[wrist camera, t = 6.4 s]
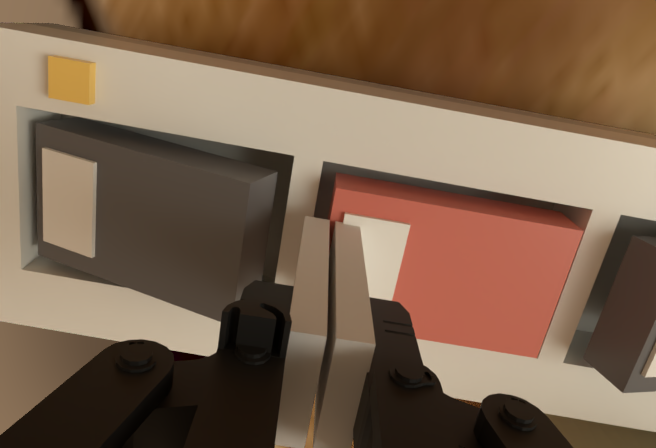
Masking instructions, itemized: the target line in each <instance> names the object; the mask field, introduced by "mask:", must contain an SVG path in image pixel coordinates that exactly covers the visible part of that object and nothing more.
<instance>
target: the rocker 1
mask: <svg viewBox="0 0 656 448" xmlns="http://www.w3.org/2000/svg"><path fill="white" fill-rule="evenodd" d="M36 173H37V230H38V255H40V256H43V257H45V258H48V259H51V260H54V261H56V262H59V263H62V264H64V265H67V266H70V267H73V268H75V269H78V270H81V271H83V272H86V273H89V274H92V275H94V276H97V277H100V278H102V279H105V280H108V281H111V282H113V283H116V284H119V285H121V286H124V287H127V288H130V289H132V290H135V291H138V292H140V293H143V294H146V295H149V296H151V297H154V298H157V299H159V300H162V301H165V302H167V303H170V304H173V305H176V306H178V307H181V308H184V309H186V310H189V311H192V312H195V313H197V314H200V315H203V316H205V317H208V318H211V319H214V320H216V321H219V322H221V316H222V311H223V309H224V308H225V307H226V306H227V305H228V304H230V303H233V302H235V301H238V300H240V298H241V295H242V292H243V290H244V288H245V287H246V286H248V285H249V284H250V283H252V282H253V281H255V280H258V281H262V277H263V270H264V263H265V256H266V249H267V242H268V236H269V229H270V222H271V215H272V208H273V202H274V195H275V188H276V181H277V174H278V171H274V170H271V169H267V168H263V167H260V166H256V165H252V164H249V163H245V162H241V161H238V160H234V159H230V158H227V157H223V156H219V155H216V154H212V153H208V152H205V151H201V150H198V149H194V148H190V147H187V146H183V145H179V144H176V143H172V142H168V141H165V140H161V139H157V138H154V137H150V136H146V135H143V134H139V133H135V132H132V131H128V130H124V129H121V128H117V127H113V126H110V125H106V124H103V123H99V122H95V121H92V120H88V119H84V118H81V117H76V118H68V119H60V120H52V121H43V122H36Z"/></svg>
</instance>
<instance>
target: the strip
mask: <svg viewBox="0 0 656 448" xmlns="http://www.w3.org/2000/svg"><path fill="white" fill-rule="evenodd" d="M76 117H81V118H84V119H88V120H92V121H95V122H99V123H103V124H106V125H110V126H113V127H117V128H121V129H124V130H128V131H132V132H135V133H139V134H143V135H146V136H150V137H154V138H157V139H161V140H165V141H168V142H172V143H176V144H179V145H183V146H187V147H190V148H194V149H198V150H201V151H205V152H208V153H212V154H216V155H219V156H223V157H227V158H230V159H234V160H238V161H241V162H245V163H249V164H252V165H256V166H260V167H263V168H267V169H271V170H274V171H278V174H277V181H276V188H275V195H274V202H273V208H272V215H271V222H270V229H269V236H268V242H267V249H266V256H265V263H264V270H263V277H262V281H265V282H271V283H277V284H283V285H289V286H293V284H294V278H295V272H296V267H297V261H298V255H299V249H300V243H301V237H302V232H303V226H304V220H305V216H309V217H315V218H321V219H328V214H329V209H330V203H331V198H332V193H333V187H334V182H335V177H336V172H337V173H343V174H349V175H355V176H360V177H366V178H372V179H377V180H383V181H389V182H394V183H400V184H406V185H411V186H417V187H423V188H429V189H434V190H440V191H446V192H451V193H457V194H463V195H468V196H474V197H480V198H485V199H491V200H497V201H503V202H508V203H514V204H520V205H525V206H531V207H537V208H542V209H548V210H554V211H560V212H561V213H563V214H564V215H565V216H566V217H567V218H569V219H570V220H571V221H572V222H573V223H575V224H576V225H577V226H578V227H579V228H581V229H582V230H583V231H584V232H583V234H582V237H581V240H580V242H579V245H578V248H577V251H576V253H575V256H574V259H573V261H572V264H571V267H570V270H569V272H568V275H567V278H566V280H565V283H564V286H563V288H562V291H561V294H560V297H559V299H558V302H557V305H556V307H555V310H554V313H553V316H552V318H551V321H550V324H549V326H548V329H547V332H546V334H545V337H544V340H543V343H542V345H541V348H540V351H539V353H538V356H537V358H532V357H526V356H520V355H513V354H507V353H501V352H495V351H489V350H483V349H477V348H471V347H464V346H458V345H452V344H446V343H440V342H434V341H428V340H422V339H417V343H418V347H419V351H420V354H421V358H422V362H423V365H424V366H426V367H428V368H429V369H430V370H431V371H432V372H434V373H435V374H436V375H437V377H438V379H439V381H440V383H441V386H442V389H443V393H445V394H446V395H448V396H450V397H452V398H457V399H463V400H469V401H475V402H481V403H482V400H483V399H484V398H486V397H487V396H488V395H492V394H498V393H501V394H508V395H513V396H517V397H520V398H522V399H524V400H526V401H528V402H529V403H531V404H533V405H534V406H536V407H538V408H539V409H540V410H541V411H542V412H543V413H545V414H551V415H557V416H563V417H569V418H575V419H581V420H587V421H593V422H599V423H604V424H610V425H616V426H622V427H628V428H634V429H640V430H646V431H652V432H656V391H655V392H636V393H622V392H621V391H620V390H619V389H617V388H616V387H615V386H614V385H613V384H612V383H611V382H609V381H608V380H607V379H606V378H605V377H604V376H602V375H601V374H600V373H599V372H598V371H597V370H596V369H594V368H593V367H592V366H591V365H590V364H589V363H588V362H586V361H585V360H584V359H583V356H584V354H585V352H586V349H587V347H588V344H589V342H590V339H591V337H592V334H593V332H594V329H595V327H596V324H597V322H598V319H599V317H600V314H601V312H602V310H603V307H604V305H605V302H606V300H607V297H608V295H609V292H610V290H611V287H612V285H613V282H614V280H615V277H616V275H617V273H618V270H619V268H620V265H621V263H622V260H623V258H624V255H625V253H626V250H627V248H628V245H629V243H630V240H631V238H632V236H633V235H638V236H652V237H656V135H654V134H648V133H643V132H637V131H632V130H627V129H621V128H616V127H610V126H605V125H599V124H594V123H589V122H583V121H578V120H572V119H567V118H562V117H556V116H551V115H545V114H540V113H535V112H529V111H524V110H518V109H513V108H507V107H502V106H497V105H491V104H486V103H480V102H475V101H470V100H464V99H459V98H453V97H448V96H443V95H437V94H432V93H426V92H421V91H415V90H410V89H405V88H399V87H394V86H388V85H383V84H378V83H372V82H367V81H361V80H356V79H351V78H345V77H340V76H334V75H329V74H323V73H318V72H313V71H307V70H302V69H296V68H291V67H286V66H280V65H275V64H269V63H264V62H259V61H253V60H248V59H242V58H237V57H231V56H226V55H221V54H215V53H210V52H204V51H199V50H194V49H188V48H183V47H177V46H172V45H167V44H161V43H156V42H150V41H145V40H139V39H134V38H129V37H123V36H118V35H112V34H107V33H102V32H96V31H91V30H85V29H80V28H75V27H69V26H64V25H58V24H49V23H0V321H3V322H9V323H15V324H21V325H26V326H32V327H38V328H44V329H50V330H56V331H62V332H68V333H74V334H80V335H85V336H92V337H97V338H103V339H110V340H115V341H121V342H122V341H126V340H135V339H136V340H138V339H144V340H149V341H155V342H158V343H160V344H162V345H164V346H166V347H167V348H168V349H169V350H174V351H180V352H186V353H192V354H198V355H203V356H210V355H212V354H214V353H216V352H217V349H218V341H219V332H220V324H221V322H219V321H216V320H214V319H211V318H208V317H205V316H203V315H200V314H197V313H195V312H192V311H189V310H186V309H184V308H181V307H178V306H176V305H173V304H170V303H167V302H165V301H162V300H159V299H157V298H154V297H151V296H149V295H146V294H143V293H140V292H138V291H135V290H132V289H130V288H127V287H124V286H121V285H119V284H116V283H113V282H111V281H108V280H105V279H102V278H100V277H97V276H94V275H92V274H89V273H86V272H83V271H81V270H78V269H75V268H73V267H70V266H67V265H64V264H62V263H59V262H56V261H54V260H51V259H48V258H45V257H43V256H40V255H38V230H37V173H36V122H43V121H52V120H60V119H68V118H76Z"/></svg>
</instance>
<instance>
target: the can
mask: <svg viewBox="0 0 656 448" xmlns="http://www.w3.org/2000/svg"><path fill="white" fill-rule="evenodd" d="M544 414H545V413H544ZM545 415H546V416H547V417H548V418H549V419H550V420H551V421H552V423H553V424H554V425H555V426H556V427H557V428H558V430H559V431H560V432H561V433H562V434H563V436H564V437H565V438H566V439H567V440H568V442H569V443H570V444H571V445H572V446H573V448H656V432H652V431H646V430H640V429H634V428H628V427H622V426H616V425H610V424H604V423H599V422H593V421H587V420H581V419H575V418H569V417H563V416H557V415H551V414H545Z"/></svg>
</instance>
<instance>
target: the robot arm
mask: <svg viewBox="0 0 656 448" xmlns="http://www.w3.org/2000/svg"><path fill="white" fill-rule="evenodd" d="M329 228H330V220H327V219H321V218H315V217H309V216H305V220H304V226H303V232H302V237H301V243H300V249H299V255H298V261H297V267H296V272H295V278H294V284H293V286H289V285H283V284H277V283H271V282H265V281H258V280H255V281H253V282H252V283H250V284H249V285H248V286H246V287H245V288H244V290H243V292H242V295H241V298H240V300H238V301H235V302H233V303H230V304H228V305H227V306H226V307H225V308H224V309H223V311H222V316H221V324H220V332H219V341H218V349H217V352H216V353H214V354H212V355H210V356H208V357H205V358H202V359H197V360H189V361H174V356H173V353H172V352H171V351H170V350H169V349H168V348H167V347H166V346H164V345H162V344H160V343H158V342H155V341H149V340H144V339H138V340H136V339H135V340H126V341H122V342H119V343H115V344H113V345H111V346H109V347H108V348H106V349H104V350H103V351H102V352H100V353H99V354H98V355H97V356H95V357H94V358H93V359H92V360H91V361H90V362H88V363H87V364H86V365H85V366H83V367H82V368H81V369H80V370H79V371H77V372H76V373H75V374H74V375H73V376H71V377H70V378H69V379H68V380H66V381H65V382H64V383H63V384H62V385H60V386H59V387H58V388H57V389H56V390H54V391H53V392H52V393H51V394H50V395H48V396H47V397H46V398H45V399H44V400H42V401H41V402H40V403H39V404H38V405H36V406H35V407H34V408H33V409H32V410H31V411H29V412H28V413H27V414H25V415H24V416H23V417H22V418H21V419H19V420H18V421H17V422H16V423H15V424H14V425H12V426H11V427H10V428H9V429H7V430H6V431H5V432H4V433H3V434H1V435H0V448H274V446H275V445H280V446H286V447H293V448H305V443H306V438H307V433H308V428H309V423H310V418H311V413H312V408H313V403H314V398H315V394H316V398H315V418H314V438H313V448H351V445H352V441H353V440H354V448H573V446H572V445H571V444H570V443H569V442H568V440H567V439H566V438H565V437H564V436H563V434H562V433H561V432H560V431H559V430H558V428H557V427H556V426H555V425H554V424H553V423H552V421H551V420H550V419H549V418H548V417H547V416H546V415H545V414H544V413H543V412H542V411H541V410H540V409H539V408H538V407H536V406H534V405H533V404H531V403H529V402H528V401H526V400H524V399H522V398H520V397H517V396H513V395H508V394H501V393H498V394H492V395H488V396H487V397H486V398H484V399H483V400H482V403H481V406H480V408H478V407H475V406H472V405H470V404H467V403H464V402H461V401H459V400H457V399H454V398H452V397H450V396H448V395H446V394H445V393H443V389H442V386H441V383H440V381H439V379H438V377H437V375H436V374H435V373H434V372H432V371H431V370H430V369H429V368H428V367H426V366H424V365H423V362H422V358H421V354H420V351H419V347H418V343H417V339H416V337H415V332H414V328H413V327H412V326H413V324H412V321H411V317H410V313H409V312H408V311H407V310H406V309H405V308H404V307H403V306H402V305H401V304H400V303H399V302H396V301H390V300H383V299H377V298H371V297H369V290H368V283H367V275H366V267H365V260H364V252H363V245H362V237H361V230H360V227H359V226H353V225H347V224H343V222H338V221H335V226H334V232H333V237H332V242H331V247H330V252H329Z"/></svg>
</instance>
